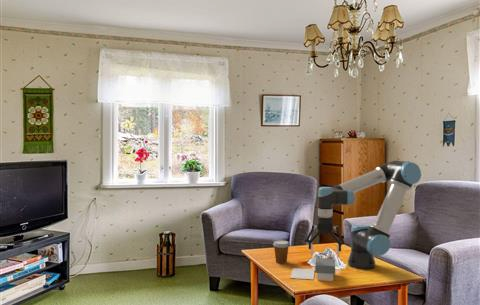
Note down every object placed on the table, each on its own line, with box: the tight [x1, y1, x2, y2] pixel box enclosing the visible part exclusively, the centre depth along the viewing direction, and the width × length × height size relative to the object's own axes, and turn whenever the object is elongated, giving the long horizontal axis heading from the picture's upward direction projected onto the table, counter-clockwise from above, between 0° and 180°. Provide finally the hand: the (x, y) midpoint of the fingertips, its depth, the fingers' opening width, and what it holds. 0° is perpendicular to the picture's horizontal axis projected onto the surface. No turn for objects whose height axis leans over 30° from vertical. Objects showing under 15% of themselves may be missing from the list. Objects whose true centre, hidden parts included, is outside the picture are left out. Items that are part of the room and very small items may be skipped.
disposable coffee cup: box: [272, 239, 290, 265], centre depth 241 cm, size 10×10×12 cm
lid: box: [314, 257, 336, 275], centre depth 215 cm, size 10×13×4 cm
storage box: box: [316, 273, 334, 282], centre depth 215 cm, size 8×11×7 cm
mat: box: [290, 267, 315, 281], centre depth 220 cm, size 12×16×1 cm
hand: (324, 256), depth 215 cm, fingers open, 13 cm apart
